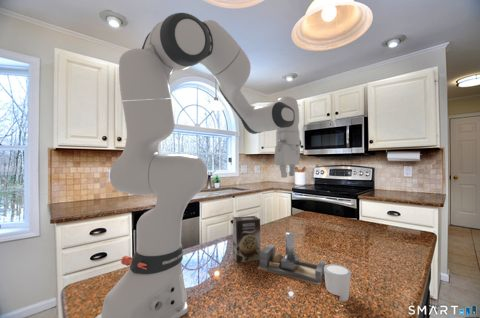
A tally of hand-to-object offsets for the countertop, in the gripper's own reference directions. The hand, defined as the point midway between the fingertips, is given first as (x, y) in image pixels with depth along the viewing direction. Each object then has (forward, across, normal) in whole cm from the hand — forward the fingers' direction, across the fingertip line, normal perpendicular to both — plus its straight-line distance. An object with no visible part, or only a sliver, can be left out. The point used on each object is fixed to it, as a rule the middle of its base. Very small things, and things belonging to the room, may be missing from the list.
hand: (288, 176), depth 84 cm
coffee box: (+31, -10, +13) cm, 35 cm away
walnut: (+30, -10, +1) cm, 31 cm away
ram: (+30, -11, -4) cm, 32 cm away
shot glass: (+31, -16, -18) cm, 40 cm away
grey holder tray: (+31, -11, -4) cm, 33 cm away
